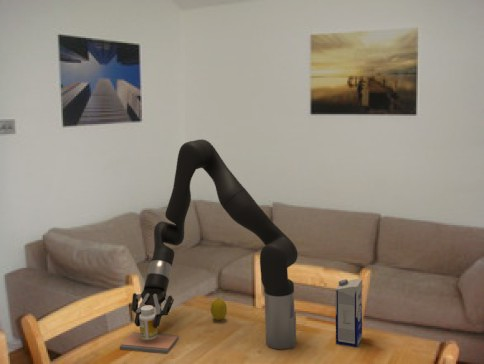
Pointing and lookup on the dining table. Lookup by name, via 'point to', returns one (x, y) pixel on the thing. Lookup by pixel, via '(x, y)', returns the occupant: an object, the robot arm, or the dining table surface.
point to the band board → (149, 343)
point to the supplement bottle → (147, 323)
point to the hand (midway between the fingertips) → (146, 326)
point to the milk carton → (349, 312)
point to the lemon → (218, 309)
